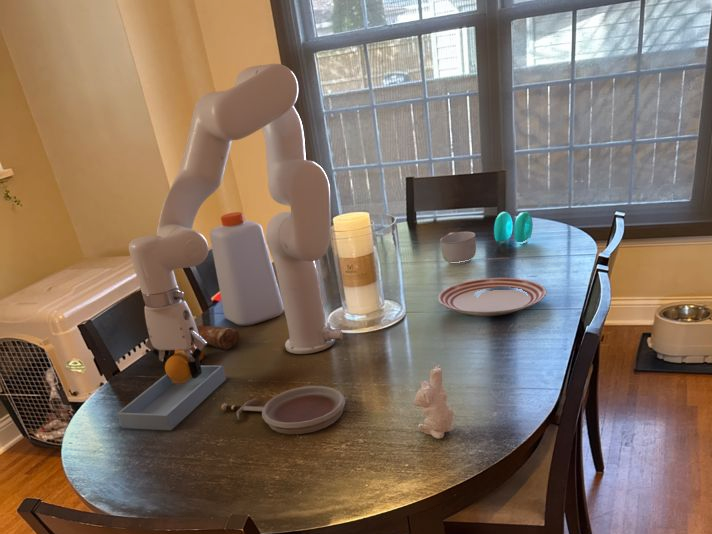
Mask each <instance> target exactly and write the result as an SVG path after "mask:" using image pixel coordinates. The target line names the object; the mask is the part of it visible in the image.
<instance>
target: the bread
mask: <svg viewBox="0 0 712 534" xmlns="http://www.w3.org/2000/svg"><path fill="white" fill-rule="evenodd" d="M196 327H197V330H198V333H199V336H200V337H201V338H202V339H203V340H205V341H206V342H207V345H206V346H211V347H215V348H217V349H222V350H229V349H230V348H232V347H234V346H236V345H237V343H238V342H239V340H240V336H241V335H240V331H238V330H237V329H235V328H230V327H223V326H211V325H210V326H209V325H196Z"/></svg>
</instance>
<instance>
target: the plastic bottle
mask: <svg viewBox="0 0 712 534" xmlns="http://www.w3.org/2000/svg"><path fill="white" fill-rule="evenodd" d="M220 221H221V225H218V226H215V227H212V228H211V229H210V230H209V240H210V244H211V251H212V256H213V263H214V267H215V272H216V278H217V282H218V284H217V285H218V288H219V294H220V300H221V305H222V311H223V316H224V318H225V319H226V320H228V321H230V322H232V323H233V324H235V325H237V326H240V327H249V326H254V325H256V324H259V323H262V322H265V321H268V320H272V319H274V318H277V317H279V316H281V315H282V314H284V307H283V302H282V297H281V292H280V287H279V283H278V280H277V277H276V274H275V269H274V267H273V263H272V262H273V261H272V258H271V254H270V251H269V248H268V244H267V240H266V236H265V234H264V230H263V227H262V225H261V224H260V223H258V222H255V221H251V220H245V216H244V213H243V212H241V211H235V212H229V213H226V214H223V215H222V216H221V217H220Z"/></svg>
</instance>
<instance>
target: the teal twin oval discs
mask: <svg viewBox="0 0 712 534" xmlns="http://www.w3.org/2000/svg"><path fill="white" fill-rule="evenodd" d="M533 223H534V222H533V217H532V215H531V214H530V213H529V211H523V212H520V213H519V214H518V215H517V217H516V218H515V222H514V223H513V220H512V216H511V215H510V213H509V212H507V211H501V212H500V213H499V214H498V215H497V217H496V218H495V221H494V225H493V236H494V239H495V242H497V241H498V242H500V241H505V240H507V239H509V238H510V239H511V237H512V234H513V236H514V240H515V242H516V243H517V242H523V241H525V240H527V239H528V238H530V239H531V237H532V233H533V225H534V224H533ZM510 239H509V240H508V241H507V242H505V243H498V245H502V244H503V245H505V244H507V243H508V242H509V241H510ZM527 244H528V242H526V243H523V244H519V245H520V246H525V245H527Z"/></svg>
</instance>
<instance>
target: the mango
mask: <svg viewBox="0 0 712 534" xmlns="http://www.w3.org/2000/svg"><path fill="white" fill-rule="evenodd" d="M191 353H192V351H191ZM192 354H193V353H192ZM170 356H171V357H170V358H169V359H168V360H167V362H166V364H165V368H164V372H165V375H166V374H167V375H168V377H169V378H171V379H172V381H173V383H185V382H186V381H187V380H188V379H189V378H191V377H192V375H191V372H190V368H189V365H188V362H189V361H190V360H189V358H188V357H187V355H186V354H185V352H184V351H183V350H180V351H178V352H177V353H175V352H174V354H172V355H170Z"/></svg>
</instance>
